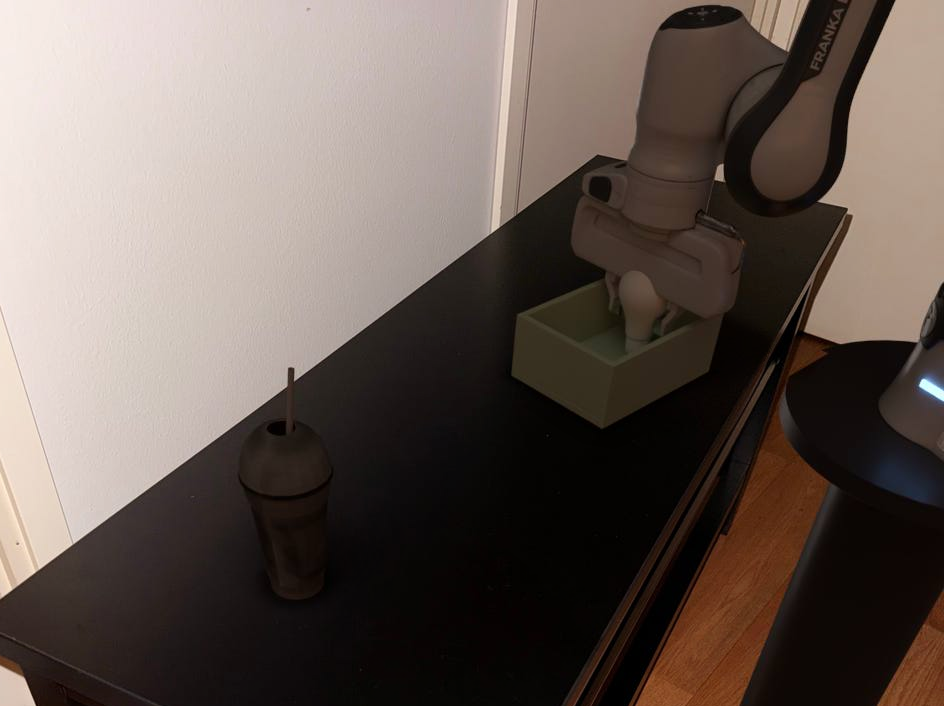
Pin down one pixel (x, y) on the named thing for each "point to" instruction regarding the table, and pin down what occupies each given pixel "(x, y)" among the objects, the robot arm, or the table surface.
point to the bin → (605, 355)
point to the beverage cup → (289, 500)
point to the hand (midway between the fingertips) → (639, 322)
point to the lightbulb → (639, 309)
